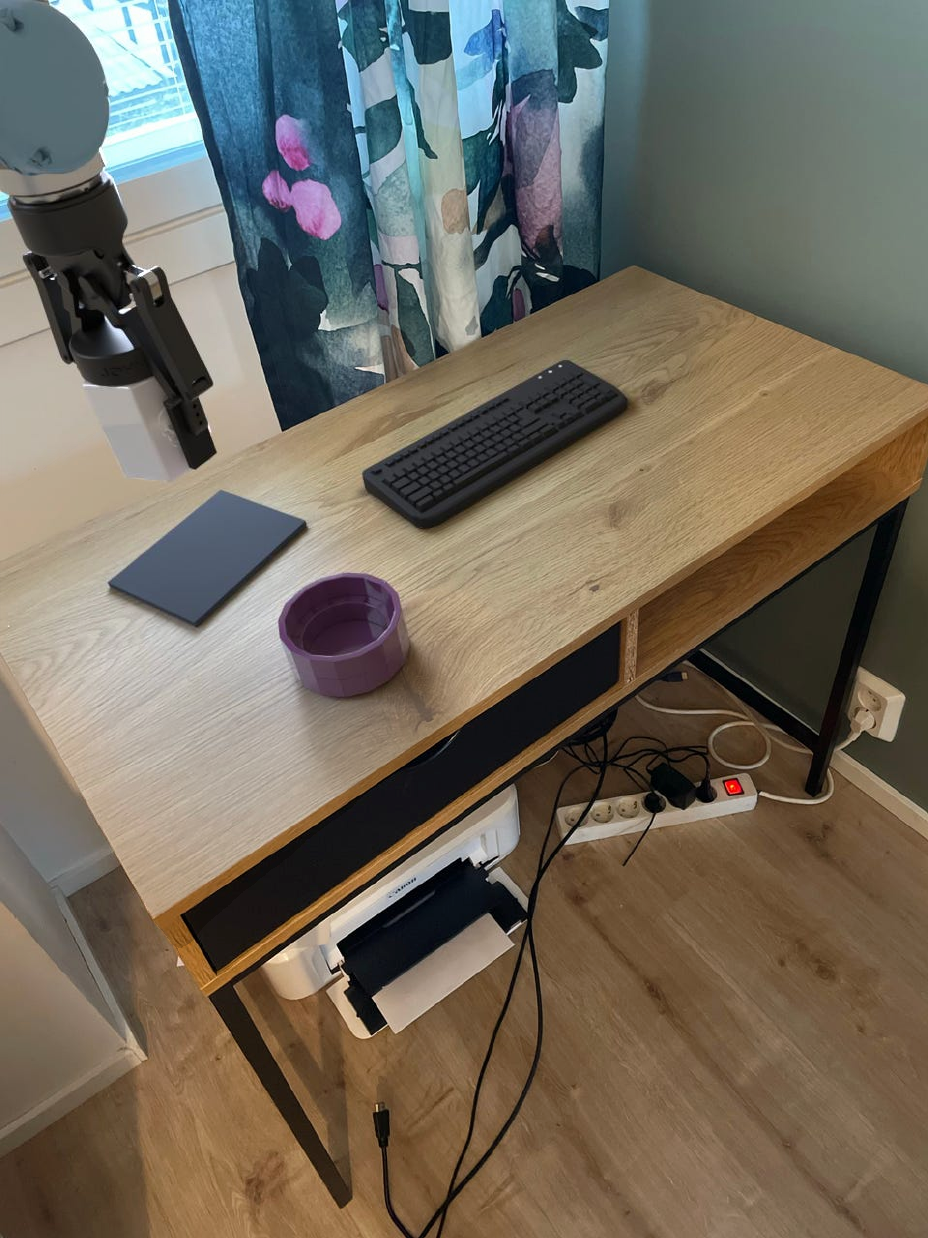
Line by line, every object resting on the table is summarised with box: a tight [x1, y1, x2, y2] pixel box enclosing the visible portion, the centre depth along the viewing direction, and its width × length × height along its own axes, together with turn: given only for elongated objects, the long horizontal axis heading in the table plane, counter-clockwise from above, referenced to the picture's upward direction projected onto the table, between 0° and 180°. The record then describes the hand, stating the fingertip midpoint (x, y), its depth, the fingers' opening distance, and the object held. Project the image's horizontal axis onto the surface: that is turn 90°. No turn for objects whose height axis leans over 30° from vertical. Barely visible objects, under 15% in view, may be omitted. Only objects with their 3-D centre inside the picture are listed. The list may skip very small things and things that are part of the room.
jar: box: [69, 308, 214, 483], centre depth 76 cm, size 9×8×12 cm
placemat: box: [107, 489, 308, 628], centre depth 89 cm, size 16×12×1 cm
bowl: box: [277, 571, 411, 698], centre depth 76 cm, size 10×10×5 cm
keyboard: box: [361, 359, 629, 530], centre depth 96 cm, size 30×11×2 cm, turn 130°
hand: (166, 446), depth 80 cm, fingers closed on jar, 9 cm apart
